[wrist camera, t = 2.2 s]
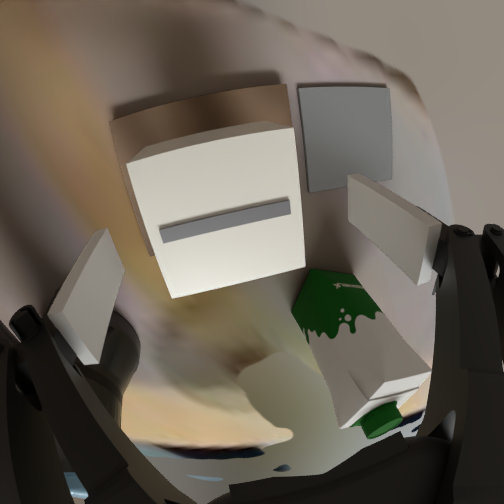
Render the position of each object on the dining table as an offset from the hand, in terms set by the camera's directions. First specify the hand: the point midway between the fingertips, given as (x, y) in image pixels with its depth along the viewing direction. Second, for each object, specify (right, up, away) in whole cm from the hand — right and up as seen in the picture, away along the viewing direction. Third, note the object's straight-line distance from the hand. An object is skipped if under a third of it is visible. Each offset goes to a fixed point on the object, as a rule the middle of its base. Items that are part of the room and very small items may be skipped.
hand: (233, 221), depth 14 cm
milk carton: (+10, -7, +23) cm, 26 cm away
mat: (+11, +11, +12) cm, 20 cm away
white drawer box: (-2, +3, +5) cm, 7 cm away
